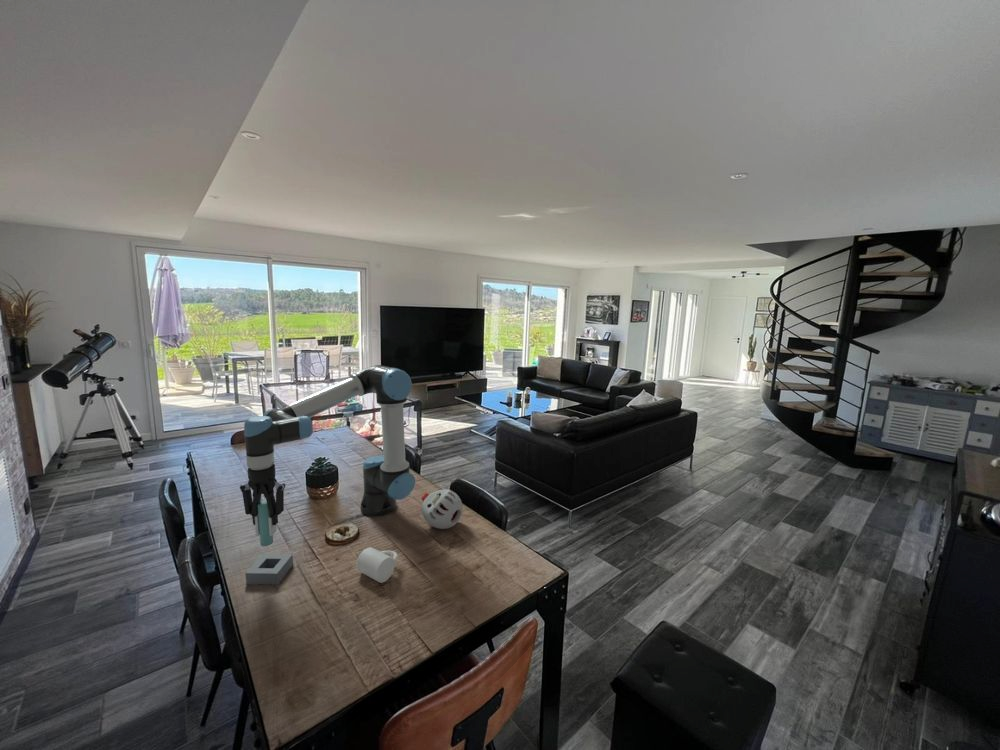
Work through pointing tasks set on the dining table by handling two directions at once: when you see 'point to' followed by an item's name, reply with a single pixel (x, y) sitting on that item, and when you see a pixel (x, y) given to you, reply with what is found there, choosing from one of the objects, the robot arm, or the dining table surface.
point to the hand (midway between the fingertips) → (266, 533)
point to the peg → (264, 524)
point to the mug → (376, 564)
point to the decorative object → (442, 508)
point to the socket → (269, 569)
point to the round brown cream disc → (341, 533)
